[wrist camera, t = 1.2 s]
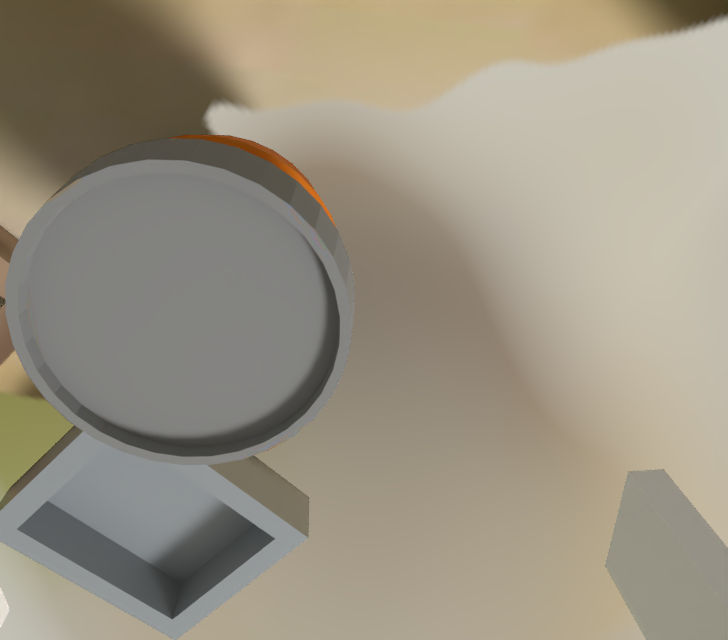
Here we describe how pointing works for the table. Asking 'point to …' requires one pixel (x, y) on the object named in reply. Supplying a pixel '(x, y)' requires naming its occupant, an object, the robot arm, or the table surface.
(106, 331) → the reusable coffee cup
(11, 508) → the grey tray
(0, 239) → the walnut collar
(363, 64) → the table surface
